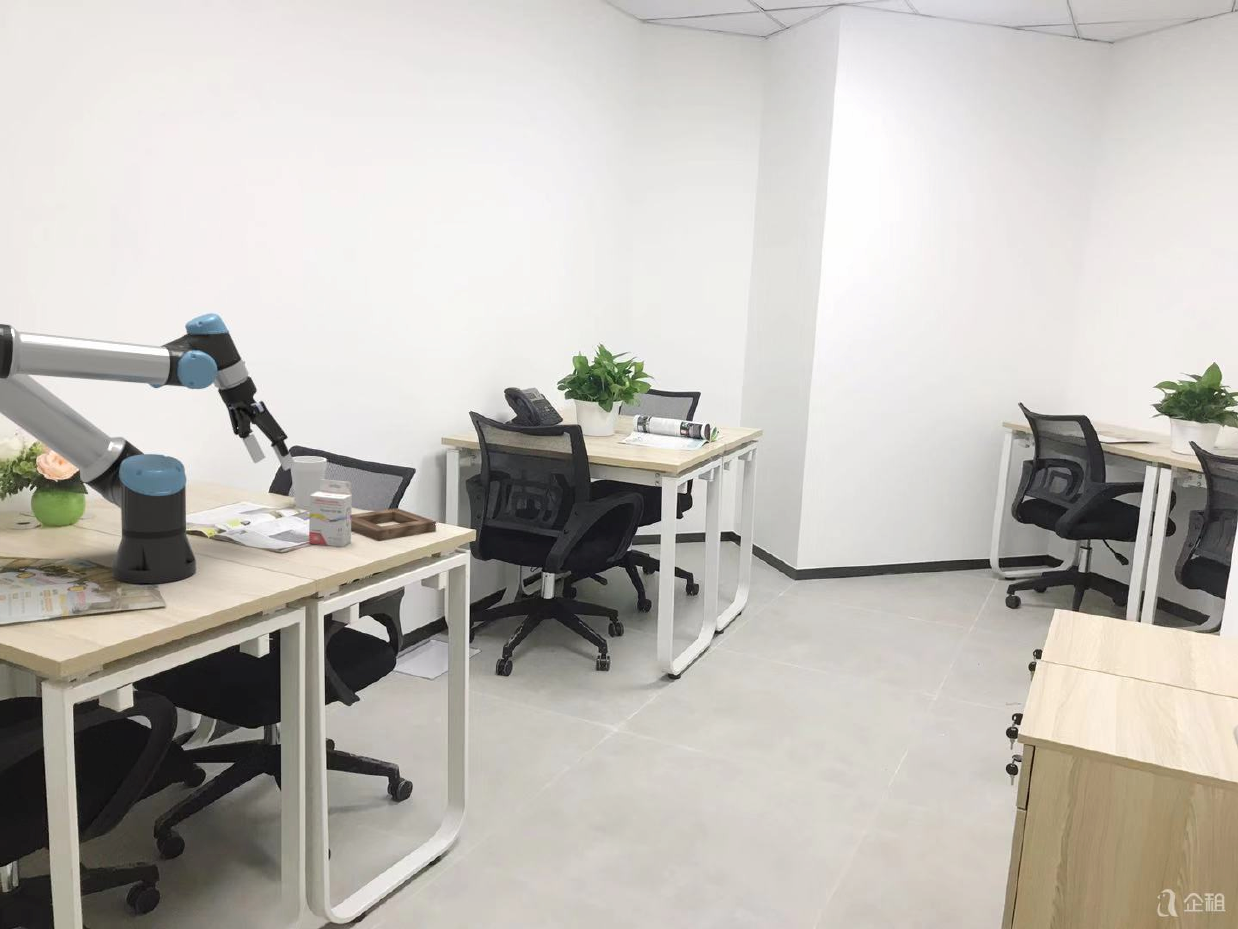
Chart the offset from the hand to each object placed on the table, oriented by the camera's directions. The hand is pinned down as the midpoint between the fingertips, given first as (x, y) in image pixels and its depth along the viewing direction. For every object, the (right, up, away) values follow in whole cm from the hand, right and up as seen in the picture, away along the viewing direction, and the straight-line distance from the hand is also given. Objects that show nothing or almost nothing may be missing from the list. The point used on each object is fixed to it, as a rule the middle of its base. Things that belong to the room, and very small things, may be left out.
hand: (274, 463), depth 217 cm
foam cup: (-4, -12, +36) cm, 38 cm away
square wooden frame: (+21, -16, +19) cm, 33 cm away
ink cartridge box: (+12, -19, +3) cm, 22 cm away
